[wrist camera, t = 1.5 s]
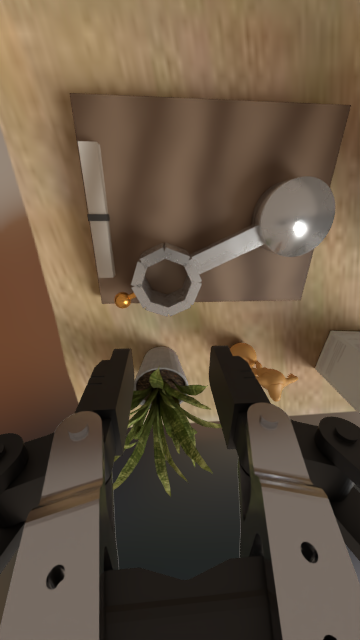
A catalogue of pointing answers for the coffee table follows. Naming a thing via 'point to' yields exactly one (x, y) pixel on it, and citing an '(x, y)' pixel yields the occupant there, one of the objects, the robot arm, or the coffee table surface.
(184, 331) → the coffee table surface
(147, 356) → the house plant
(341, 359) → the supplement box
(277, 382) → the figurine
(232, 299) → the stand base
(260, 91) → the coffee table surface
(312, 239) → the baby rattle
